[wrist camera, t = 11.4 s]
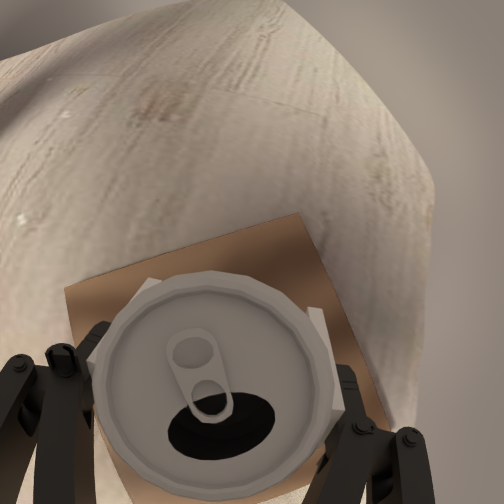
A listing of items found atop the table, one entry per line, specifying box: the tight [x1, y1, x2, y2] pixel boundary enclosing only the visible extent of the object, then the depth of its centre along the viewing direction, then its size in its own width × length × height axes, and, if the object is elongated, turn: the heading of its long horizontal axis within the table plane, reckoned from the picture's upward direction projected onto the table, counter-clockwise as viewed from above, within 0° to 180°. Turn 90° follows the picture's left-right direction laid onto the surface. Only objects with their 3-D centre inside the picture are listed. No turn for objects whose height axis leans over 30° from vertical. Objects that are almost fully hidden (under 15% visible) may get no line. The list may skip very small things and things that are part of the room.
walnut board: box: [64, 213, 391, 504], centre depth 20 cm, size 20×20×1 cm
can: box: [92, 270, 335, 502], centre depth 12 cm, size 8×8×12 cm
